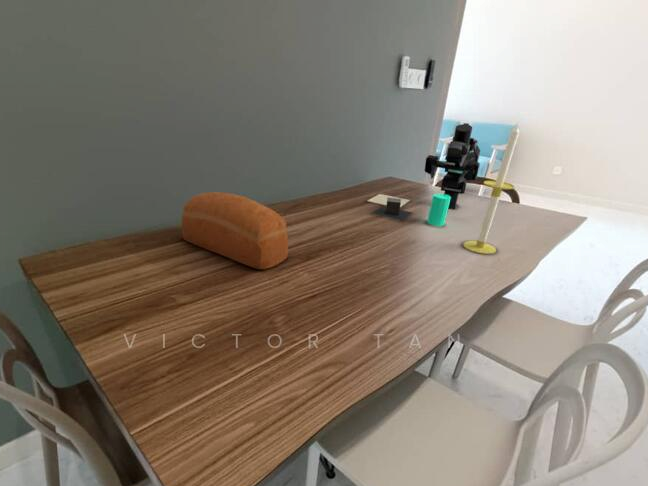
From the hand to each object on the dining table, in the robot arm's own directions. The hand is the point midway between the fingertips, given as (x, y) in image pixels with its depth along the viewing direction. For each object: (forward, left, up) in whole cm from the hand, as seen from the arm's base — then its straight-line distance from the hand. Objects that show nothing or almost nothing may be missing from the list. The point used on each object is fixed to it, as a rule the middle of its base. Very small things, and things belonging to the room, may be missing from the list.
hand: (444, 179), depth 139 cm
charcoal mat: (+3, -16, -15) cm, 22 cm away
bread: (+66, -41, -15) cm, 80 cm away
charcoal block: (+3, -16, -15) cm, 22 cm away
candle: (+3, +1, -15) cm, 16 cm away
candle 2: (+16, +19, -15) cm, 30 cm away
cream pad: (-12, -23, -15) cm, 30 cm away
